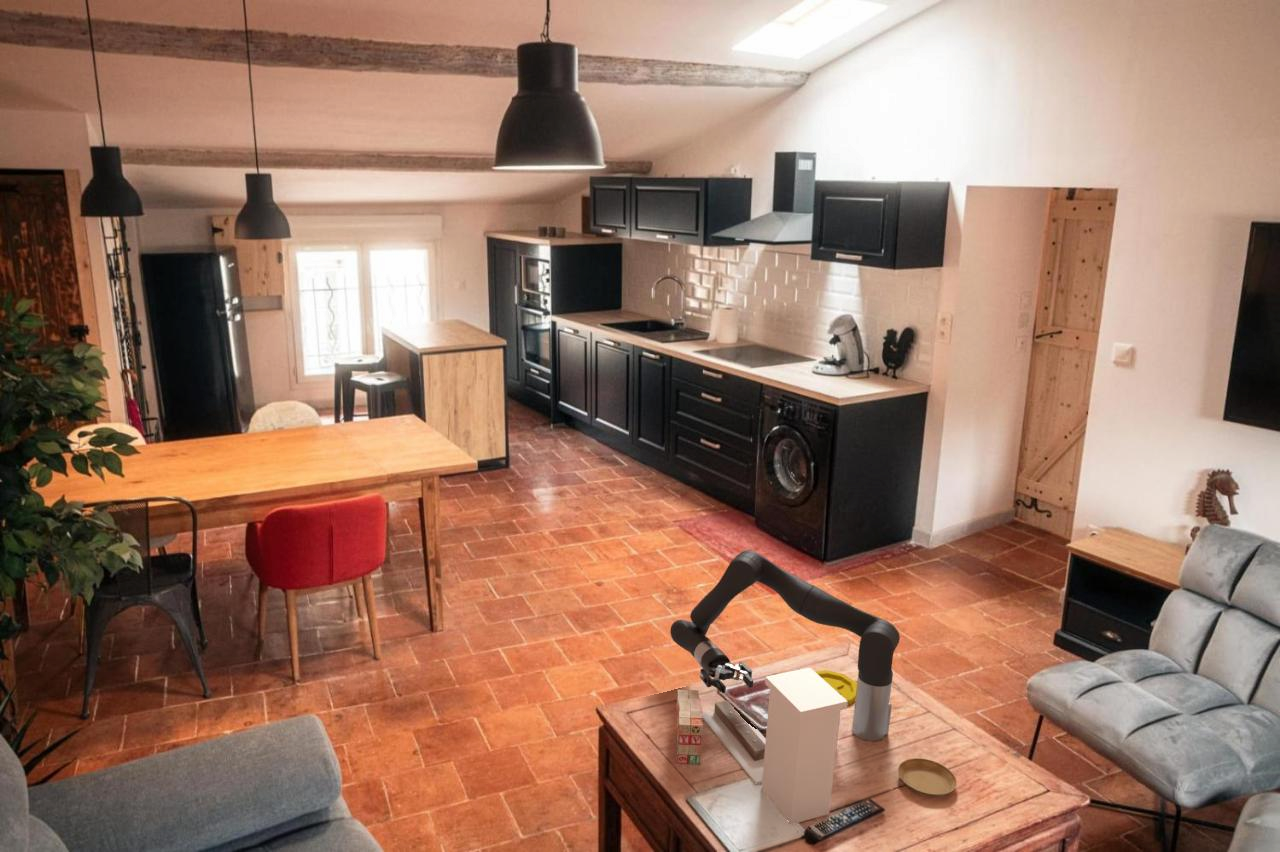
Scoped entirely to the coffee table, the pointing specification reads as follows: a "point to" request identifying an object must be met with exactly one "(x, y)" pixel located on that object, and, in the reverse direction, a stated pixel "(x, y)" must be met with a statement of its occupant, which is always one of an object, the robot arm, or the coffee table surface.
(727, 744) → the white mat
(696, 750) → the stack of blocks
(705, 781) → the coffee table surface
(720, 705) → the studded wooden bar
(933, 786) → the plant saucer
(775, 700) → the tall stand
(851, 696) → the decorative disc
